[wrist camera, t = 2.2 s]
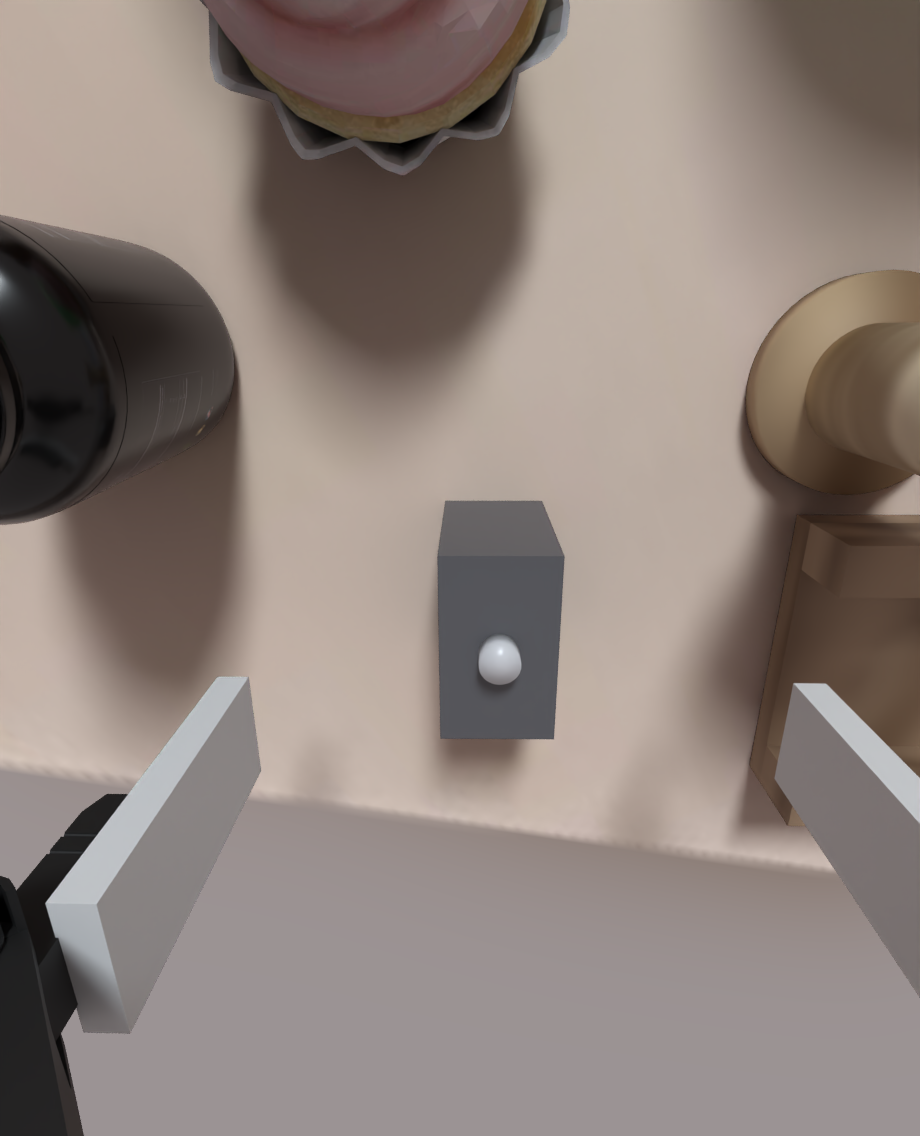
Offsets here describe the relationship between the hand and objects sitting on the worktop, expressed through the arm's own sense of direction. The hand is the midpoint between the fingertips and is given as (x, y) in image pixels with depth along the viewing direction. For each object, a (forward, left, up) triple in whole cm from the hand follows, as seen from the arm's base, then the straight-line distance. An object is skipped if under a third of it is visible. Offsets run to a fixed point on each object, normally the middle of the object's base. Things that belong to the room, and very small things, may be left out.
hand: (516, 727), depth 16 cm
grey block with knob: (0, 0, -9) cm, 9 cm away
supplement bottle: (-12, +8, -10) cm, 18 cm away
